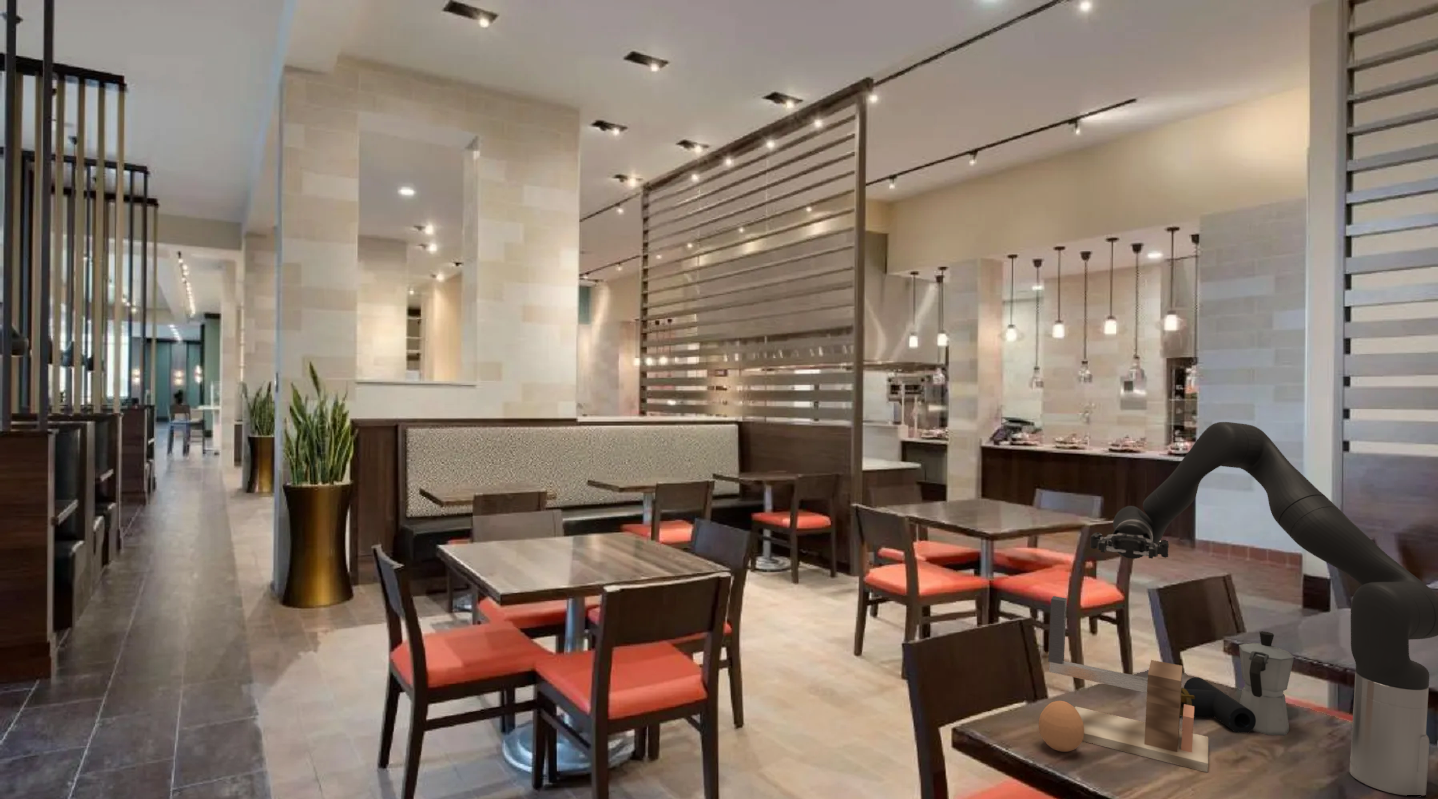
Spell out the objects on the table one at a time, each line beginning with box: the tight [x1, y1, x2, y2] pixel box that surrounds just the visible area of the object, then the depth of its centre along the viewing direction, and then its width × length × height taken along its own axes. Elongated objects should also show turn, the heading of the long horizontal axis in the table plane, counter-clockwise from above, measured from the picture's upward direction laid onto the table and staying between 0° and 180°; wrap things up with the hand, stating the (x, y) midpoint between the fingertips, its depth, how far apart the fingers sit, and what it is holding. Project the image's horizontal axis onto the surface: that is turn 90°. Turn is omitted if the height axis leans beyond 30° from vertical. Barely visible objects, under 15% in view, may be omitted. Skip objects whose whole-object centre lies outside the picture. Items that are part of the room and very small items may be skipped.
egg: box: [1038, 700, 1084, 753], centre depth 138 cm, size 7×7×8 cm
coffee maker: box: [1238, 630, 1295, 736], centre depth 150 cm, size 15×9×18 cm, turn 134°
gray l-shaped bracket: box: [1047, 595, 1148, 694], centre depth 145 cm, size 19×2×14 cm, turn 58°
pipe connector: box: [1180, 676, 1256, 734], centre depth 155 cm, size 12×5×15 cm
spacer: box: [1181, 704, 1195, 752], centre depth 139 cm, size 2×6×6 cm, turn 148°
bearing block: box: [1074, 659, 1209, 773], centre depth 143 cm, size 22×12×14 cm, turn 58°
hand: (1126, 550), depth 157 cm, fingers open, 8 cm apart
